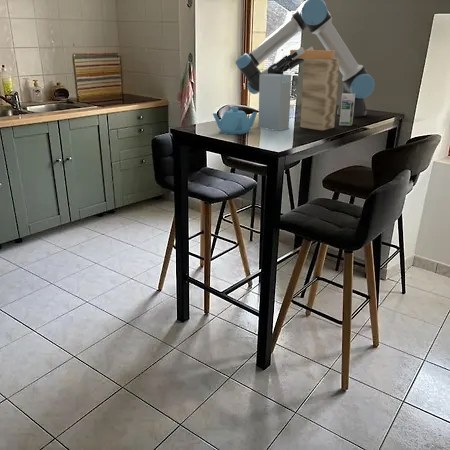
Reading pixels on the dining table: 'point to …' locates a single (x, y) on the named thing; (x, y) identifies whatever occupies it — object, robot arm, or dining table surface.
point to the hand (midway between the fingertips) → (308, 49)
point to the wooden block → (319, 93)
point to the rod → (316, 54)
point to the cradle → (274, 101)
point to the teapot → (235, 121)
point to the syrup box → (347, 109)
